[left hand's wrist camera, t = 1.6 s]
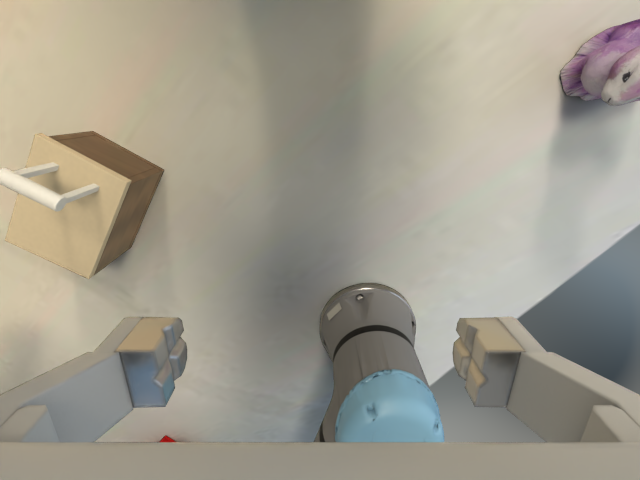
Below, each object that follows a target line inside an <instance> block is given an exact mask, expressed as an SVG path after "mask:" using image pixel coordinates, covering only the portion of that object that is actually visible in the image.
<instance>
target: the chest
mask: <svg viewBox="0 0 640 480" xmlns="http://www.w3.org/2000/svg"><path fill="white" fill-rule="evenodd" d="M48 137H50V138H52V139H54V140H56V141H57V142H59V143H61V144H63V145H65V146H67V147H69V148H71V149H73V150H75V151H76V152H78V153H80V154H82V155H84V156H86V157H88V158H90V159H92V160H94V161H95V162H97V163H99V164H101V165H103V166H105V167H107V168H109V169H111V170H113V171H114V172H116V173H118V174H120V175H122V176H124V177H126V178H128V179H130V180H131V183H130V186H129V188H128V191H127V193H126V196H125V198H124V201H123V203H122V206H121V208H120V211H119V213H118V216H117V218H116V221H115V223H114V226H113V228H112V231H111V233H110V236H109V239H108V241H107V244H106V246H105V249H104V251H103V254H102V256H101V259H100V261H99V264H98V266H97V269H96V271H95V274H96V273H98V272H99V271H100V270H102V269H103V268H104V267H106V266H107V265H108V264H110V263H111V262H112V261H114V260H115V259H116V258H118V257H119V256H120V255H121V254H123V253H124V252H125V251H127V250H128V249H129V248H131V246H132V244H133V242H134V239H135V237H136V235H137V232H138V230H139V228H140V225H141V223H142V221H143V218H144V216H145V214H146V211H147V209H148V207H149V204H150V202H151V200H152V197H153V195H154V193H155V190H156V188H157V186H158V183H159V181H160V178H161V176H162V174H163V171H164V169H162V168H160V167H158V166H156V165H154V164H153V163H151V162H149V161H147V160H145V159H143V158H142V157H140V156H138V155H136V154H134V153H132V152H130V151H129V150H127V149H125V148H123V147H121V146H119V145H118V144H116V143H114V142H112V141H110V140H108V139H106V138H105V137H103V136H101V135H99V134H97V133H95V132H94V131H90V132H81V133H73V134H65V135H57V136H48ZM95 274H94V275H95Z"/></svg>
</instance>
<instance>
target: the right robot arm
mask: <svg viewBox="0 0 640 480" xmlns="http://www.w3.org/2000/svg"><path fill="white" fill-rule="evenodd" d="M415 332H416V322H415V317H414V314H413V312H412V310H411V307H410V305H409V303H408V302H407V300H406V299H405V298H404V297H403V296H402V295H401V294H400V293H398V292H397V291H396V290H394V289H392V288H390V287H388V286H385V285H381V284H376V283H362V284H356V285H353V286H350V287H347V288H345V289H343V290H341V291H340V292H338V293H337V294H335V295H334V296H333V297H332V298H331V299H330V300H329V301H328V303H327V304H326V306H325V307H324V309H323V312H322V314H321V319H320V336H321V340H322V343H323V345H324V347H325V349H326V351H327V352H328V354H329V356H330V358H331V360H332V362H333V373H334V391H333V396H332V399H331V402H330V404H329V407H328V409H327V412H326V414H325V417H324V419H323V421H322V424H321V426H320V428H319V431H318V433H317V436H316V438H315V440H314V442H444V431H443V427H442V423H441V420H440V414H439V408H438V405H437V403H436V400H435V398H434V395H433V394H432V392H431V390H430V388H429V385H428V383H427V380H426V378H425V375H424V373H423V370H422V368H421V365H420V363H419V360H418V357H417V355H416V352H415V350H414V342H415Z"/></svg>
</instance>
